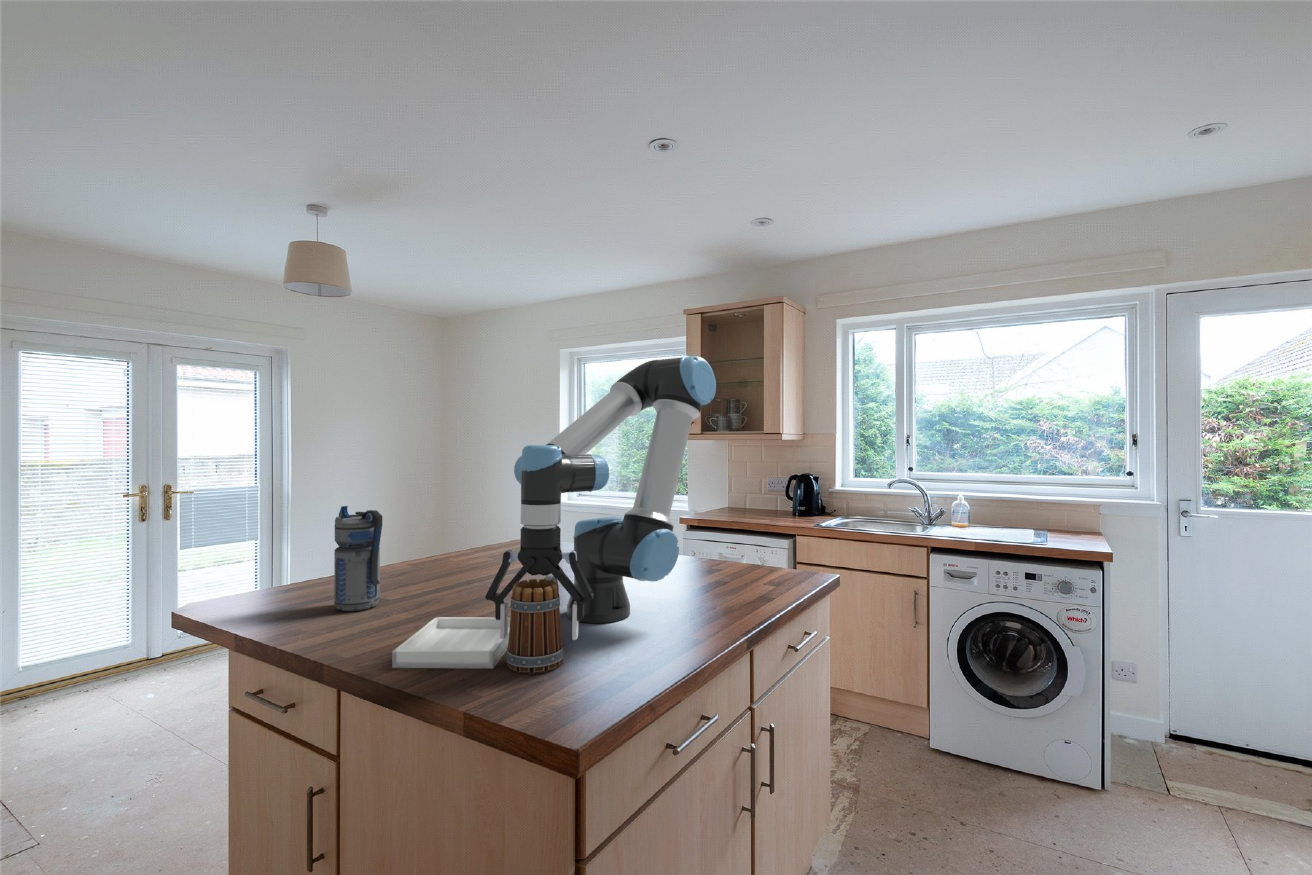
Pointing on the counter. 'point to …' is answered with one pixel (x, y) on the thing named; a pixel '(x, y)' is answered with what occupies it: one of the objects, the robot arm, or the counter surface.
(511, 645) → the mug
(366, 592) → the grey blue grenade canister
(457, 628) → the white tray
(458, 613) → the counter surface
